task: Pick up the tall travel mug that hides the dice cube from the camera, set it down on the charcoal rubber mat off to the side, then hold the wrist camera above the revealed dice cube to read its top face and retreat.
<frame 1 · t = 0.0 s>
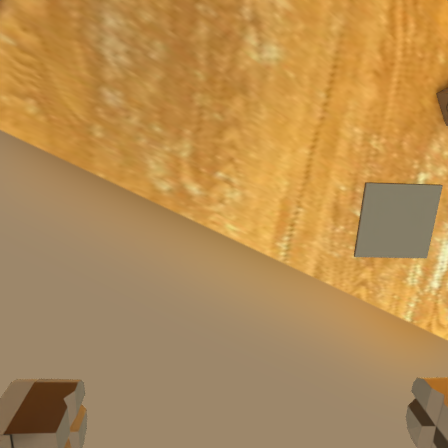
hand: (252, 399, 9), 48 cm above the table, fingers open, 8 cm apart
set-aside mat: (396, 221, 60), on the table
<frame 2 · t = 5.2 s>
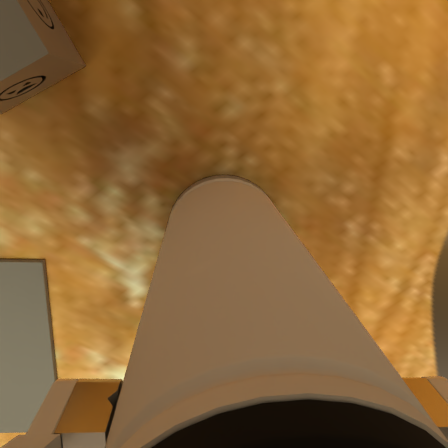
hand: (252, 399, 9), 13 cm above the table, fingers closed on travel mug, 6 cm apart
dice cube: (15, 42, 19), on the table
travel mug: (220, 228, 22), on the table, touching gripper
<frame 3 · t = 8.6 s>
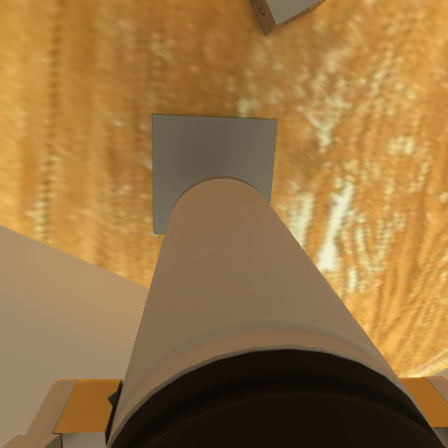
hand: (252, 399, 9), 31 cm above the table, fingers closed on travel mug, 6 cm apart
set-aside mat: (213, 178, 39), on the table
travel mug: (218, 227, 23), point 16 cm above the table, touching gripper
when the fingers open (15 cm above the table, at t = 12.1 s): travel mug stays where it is, resting on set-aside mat.
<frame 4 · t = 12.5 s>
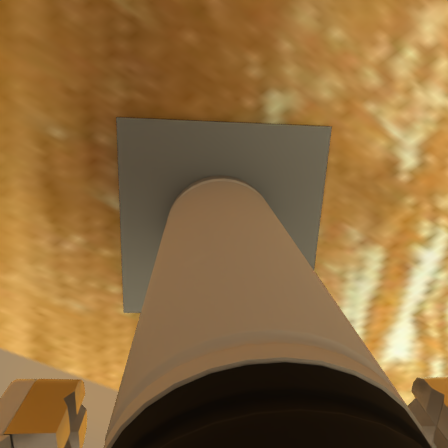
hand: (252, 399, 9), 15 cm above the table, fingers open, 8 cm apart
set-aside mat: (221, 223, 23), on the table
travel mug: (217, 227, 23), resting on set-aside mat
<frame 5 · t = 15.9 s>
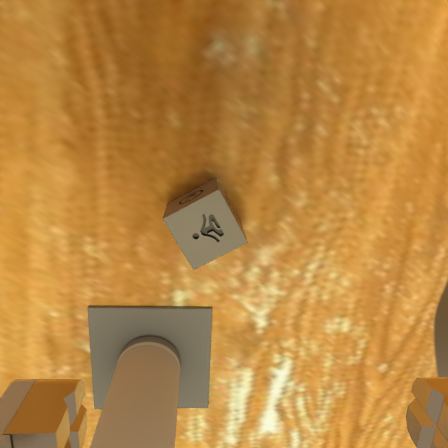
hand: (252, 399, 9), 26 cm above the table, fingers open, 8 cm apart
dice cube: (204, 213, 35), on the table
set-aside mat: (151, 358, 39), on the table
travel mug: (149, 361, 39), resting on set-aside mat
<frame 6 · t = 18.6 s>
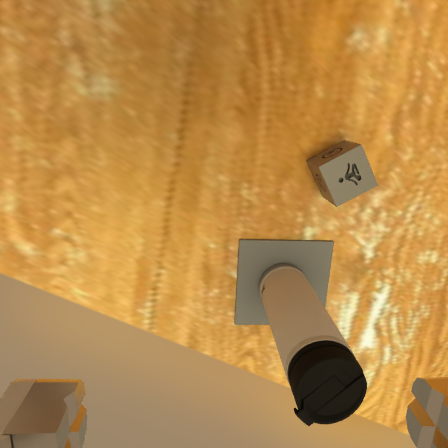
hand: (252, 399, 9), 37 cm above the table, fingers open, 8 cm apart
dice cube: (332, 168, 46), on the table
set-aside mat: (282, 283, 50), on the table
travel mug: (280, 284, 50), resting on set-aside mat
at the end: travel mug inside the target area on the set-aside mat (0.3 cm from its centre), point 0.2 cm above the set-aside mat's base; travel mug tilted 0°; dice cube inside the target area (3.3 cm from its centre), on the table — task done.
